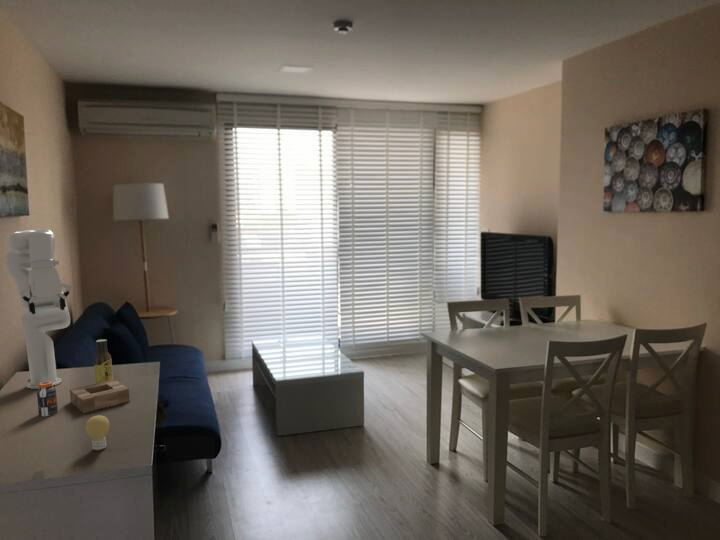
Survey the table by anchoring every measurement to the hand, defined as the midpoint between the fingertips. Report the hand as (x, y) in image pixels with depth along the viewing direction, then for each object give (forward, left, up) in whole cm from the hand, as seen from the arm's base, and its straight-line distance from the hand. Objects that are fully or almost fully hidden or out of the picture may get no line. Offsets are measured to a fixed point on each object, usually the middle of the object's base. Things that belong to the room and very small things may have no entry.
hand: (48, 311), depth 209 cm
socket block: (+13, +11, -34) cm, 38 cm away
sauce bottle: (-1, +17, -34) cm, 38 cm away
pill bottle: (+12, -6, -34) cm, 37 cm away
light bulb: (+57, -2, -34) cm, 67 cm away
